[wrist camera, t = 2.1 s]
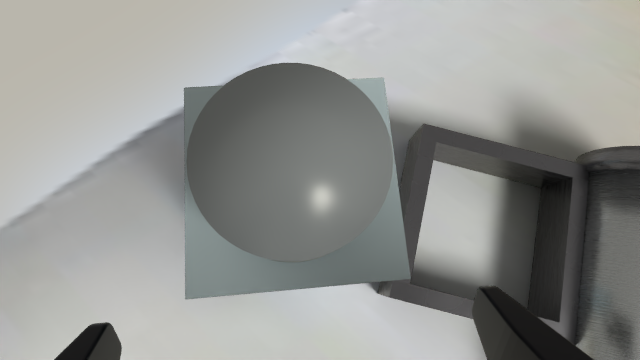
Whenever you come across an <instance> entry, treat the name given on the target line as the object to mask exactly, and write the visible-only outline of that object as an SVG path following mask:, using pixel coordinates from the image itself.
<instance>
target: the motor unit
mask: <svg viewBox="0 0 640 360" xmlns="http://www.w3.org/2000/svg"><path fill="white" fill-rule="evenodd" d="M433 160H436V161H439V162H443V163H447V164H451V165H455V166H459V167H463V168H467V169H470V170H474V171H478V172H482V173H486V174H490V175H494V176H498V177H501V178H505V179H509V180H513V181H517V182H521V183H525V184H529V185H533V186H536V187H540V188H541V197H540V206H539V214H538V223H537V232H536V241H535V250H534V258H533V267H532V276H531V285H530V294H529V303H528V310H529V311H530V312H531V313H533V314H534V315H535V316H537V317H538V318H539V319H541V320H542V321H543V322H545V323H546V324H547V325H549V326H550V327H551V328H553V329H554V330H555V331H557V332H558V333H559V334H561V335H562V336H563V337H565V338H566V339H567V340H569V341H570V342H571V343H573V344H574V345H575V346H577V347H578V348H579V349H581V350H582V351H583V352H585V353H586V354H587V355H589V356H590V357H591V358H593V359H594V360H640V146H620V147H610V148H603V149H598V150H594V151H590V152H587V153H585V154H583V155H581V156H579V157H578V158H577V159H576V160H575V162H571V161H567V160H563V159H559V158H555V157H551V156H547V155H544V154H540V153H536V152H532V151H528V150H524V149H520V148H516V147H512V146H509V145H505V144H501V143H497V142H493V141H489V140H485V139H481V138H478V137H474V136H470V135H466V134H462V133H458V132H454V131H450V130H447V129H443V128H439V127H435V126H431V125H427V124H423V125H422V126H421V127H420V128H419V130H418V131H417V132H416V133H415V134H414V135H413V137H412V138H411V139H410V140H409V145H408V150H407V154H406V159H405V164H404V169H403V174H402V179H401V184H400V188H399V194H400V202H401V209H402V217H403V224H404V232H405V239H406V247H407V254H408V262H409V269H410V277H411V275H412V270H413V265H414V259H415V254H416V249H417V243H418V238H419V232H420V227H421V222H422V216H423V211H424V206H425V200H426V195H427V190H428V184H429V179H430V174H431V168H432V163H433ZM410 281H411V279H403V280H392V281H381V282H380V286H379V291H378V294H381V295H384V296H387V297H390V298H394V299H398V300H402V301H406V302H410V303H413V304H417V305H421V306H425V307H429V308H433V309H437V310H440V311H444V312H448V313H452V314H456V315H460V316H464V317H467V318H471V319H473V316H472V306H473V302H474V300H470V299H467V298H463V297H459V296H455V295H451V294H447V293H443V292H440V291H436V290H432V289H428V288H424V287H420V286H416V285H413V284H410Z"/></svg>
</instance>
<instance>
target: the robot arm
mask: <svg viewBox="0 0 640 360" xmlns="http://www.w3.org/2000/svg"><path fill="white" fill-rule="evenodd" d="M472 316H473V319H474V322H475V325H476V328H477V331H478V334H479V337H480V340H481V343H482V345H483V348H484V351H485V354H486V357H487V360H594V359H593V358H591V357H590V356H589V355H587V354H586V353H585V352H583V351H582V350H581V349H579V348H578V347H577V346H575V345H574V344H573V343H571V342H570V341H569V340H567V339H566V338H565V337H563V336H562V335H561V334H559V333H558V332H557V331H555V330H554V329H553V328H551V327H550V326H549V325H547V324H546V323H545V322H543V321H542V320H541V319H539V318H538V317H537V316H535V315H534V314H533V313H531V312H530V311H529V310H527V309H526V308H525V307H523V306H522V305H521V304H519V303H518V302H517V301H515V300H514V299H513V298H511V297H510V296H509V295H507V294H506V293H505V292H503V291H502V290H501V289H499V288H498V287H496V286H484V287H479V288H478V290H477V292H476V296H475V299H474V302H473V306H472ZM121 349H122V348H121V342H120V340H119V338H118V336H117V334H116V332H115V330H114V328H113V326H112V325H111V324H110V323H107V322H106V323H95V324H92V325H90V326H88V327H87V328H86V329H85V330H84V331H83V332H82V333H81V334H80V335H79V336H78V337H77V338H76V339H75V340H74V341H73V342H72V343H71V344H70V345H69V346H68V347H67V348H66V349H65V350H63V351H62V352H61V353H60V354H59V355H58V356H57V357H56V358H55V359H54V360H120V356H121Z"/></svg>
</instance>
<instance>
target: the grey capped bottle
mask: <svg viewBox="0 0 640 360" xmlns="http://www.w3.org/2000/svg"><path fill="white" fill-rule="evenodd" d="M184 139H185V299H195V298H206V297H217V296H228V295H239V294H250V293H261V292H272V291H282V290H293V289H304V288H315V287H326V286H337V285H348V284H359V283H370V282H381V281H392V280H403V279H411V277H410V269H409V262H408V254H407V247H406V239H405V232H404V224H403V217H402V209H401V202H400V194H399V187H398V180H397V172H396V165H395V157H394V150H393V142H392V135H391V127H390V120H389V112H388V105H387V97H386V90H385V82H384V78H366V79H346V78H344V77H342V76H340V75H338V74H336V73H335V72H332V71H329V70H327V69H324V68H321V67H317V66H313V65H309V64H301V63H279V64H271V65H267V66H262V67H259V68H256V69H253V70H250V71H247V72H245V73H244V74H242V75H240V76H238V77H236V78H234V79H233V80H231V81H230V82H228V83H227V84H225V85H224V86H208V87H190V88H184Z"/></svg>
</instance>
